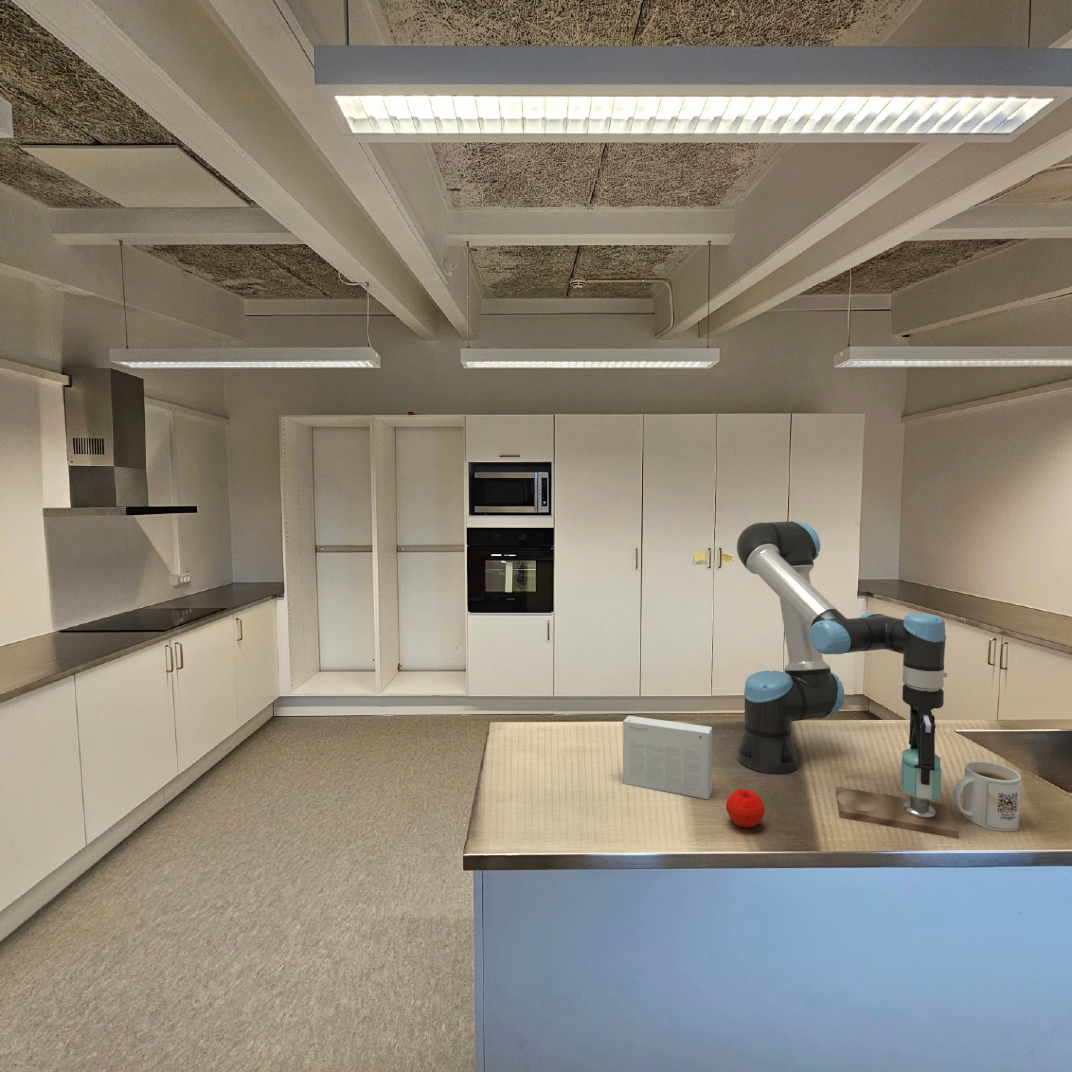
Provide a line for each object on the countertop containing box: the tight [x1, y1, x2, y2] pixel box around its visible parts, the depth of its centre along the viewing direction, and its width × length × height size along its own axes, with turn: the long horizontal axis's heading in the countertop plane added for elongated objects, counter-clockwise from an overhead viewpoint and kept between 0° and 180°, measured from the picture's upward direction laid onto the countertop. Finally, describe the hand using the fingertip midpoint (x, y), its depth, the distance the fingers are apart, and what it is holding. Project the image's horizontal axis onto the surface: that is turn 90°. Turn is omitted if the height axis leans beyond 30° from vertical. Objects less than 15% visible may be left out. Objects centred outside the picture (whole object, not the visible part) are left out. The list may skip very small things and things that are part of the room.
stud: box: [903, 795, 936, 819], centre depth 133 cm, size 6×6×8 cm
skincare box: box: [622, 715, 713, 800], centre depth 149 cm, size 21×5×16 cm, turn 65°
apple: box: [725, 789, 766, 828], centre depth 131 cm, size 8×8×7 cm
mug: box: [952, 760, 1022, 833], centre depth 132 cm, size 10×12×11 cm
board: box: [835, 786, 959, 839], centre depth 135 cm, size 22×12×2 cm, turn 67°
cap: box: [900, 748, 942, 801], centre depth 132 cm, size 7×7×8 cm
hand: (920, 789), depth 133 cm, fingers closed on cap, 7 cm apart
